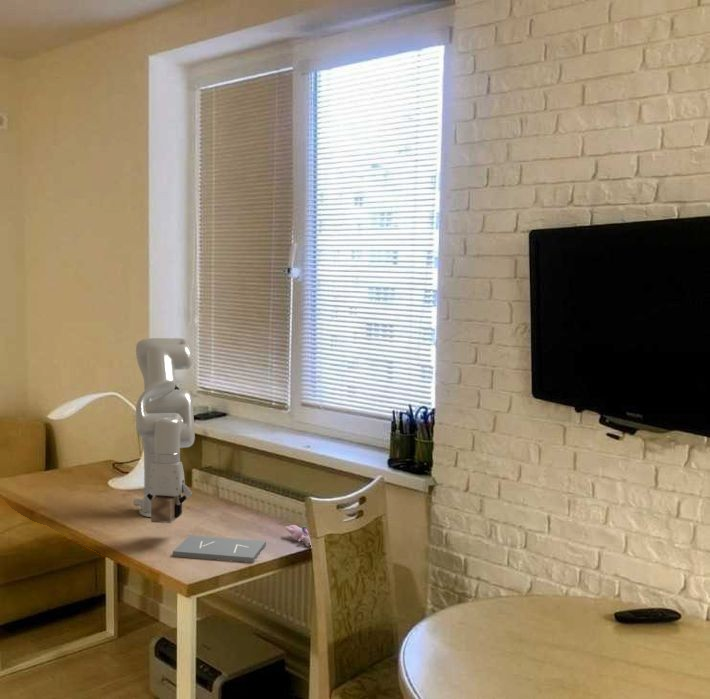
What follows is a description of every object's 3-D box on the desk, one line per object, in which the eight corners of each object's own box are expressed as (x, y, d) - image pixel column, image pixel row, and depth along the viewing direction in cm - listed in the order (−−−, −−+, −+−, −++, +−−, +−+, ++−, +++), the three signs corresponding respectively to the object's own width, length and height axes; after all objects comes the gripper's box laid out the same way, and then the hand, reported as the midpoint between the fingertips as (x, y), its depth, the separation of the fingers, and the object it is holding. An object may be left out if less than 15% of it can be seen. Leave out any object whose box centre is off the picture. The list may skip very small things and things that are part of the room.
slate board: (172, 556, 225) (172, 551, 225) (189, 540, 239) (189, 535, 239) (253, 562, 222) (253, 557, 222) (265, 546, 236) (265, 541, 236)
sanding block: (151, 522, 233) (151, 499, 233) (164, 512, 243) (164, 490, 243) (170, 523, 233) (170, 500, 232) (182, 513, 243) (182, 491, 242)
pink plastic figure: (322, 550, 238) (294, 529, 248) (325, 532, 236) (296, 512, 247) (306, 554, 233) (278, 533, 244) (309, 536, 232) (280, 516, 243)
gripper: (135, 459, 234) (135, 517, 236) (190, 462, 232) (189, 521, 233) (145, 453, 241) (145, 510, 243) (198, 456, 239) (198, 514, 241)
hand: (167, 515), depth 238 cm, fingers closed on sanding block, 6 cm apart
